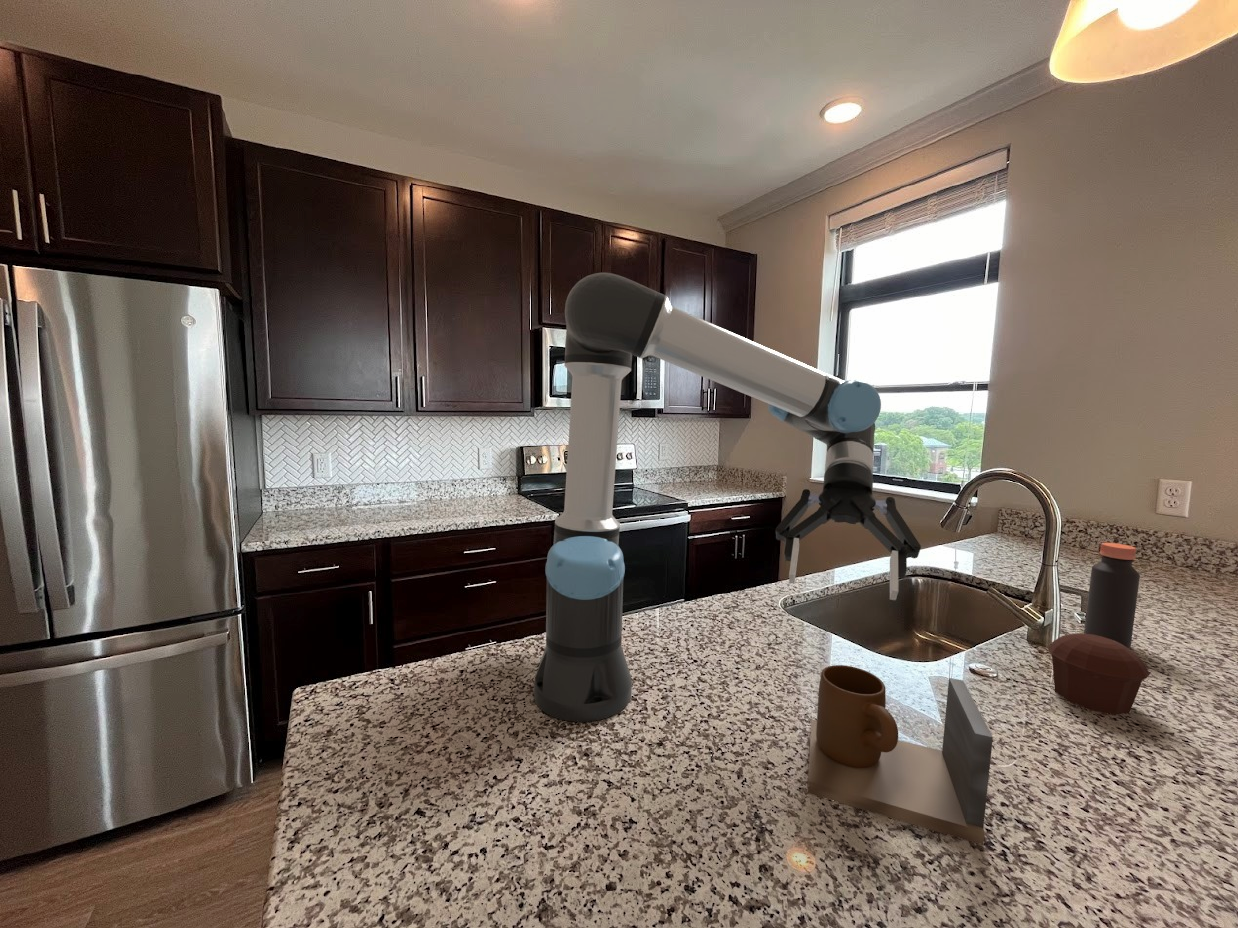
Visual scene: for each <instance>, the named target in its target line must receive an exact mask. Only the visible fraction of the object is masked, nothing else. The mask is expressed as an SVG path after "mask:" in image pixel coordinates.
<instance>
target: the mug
mask: <svg viewBox="0 0 1238 928" xmlns="http://www.w3.org/2000/svg"><path fill="white" fill-rule="evenodd" d="M886 691H887V690H886V684H885V683H884V682H883V681H882V680H881V678H879V677H878V676H876V675H875V674H873V673H871V672H869V671H867V670H864V669H862V668H859V667H855V666H850V665H844V664H843V665H841V664H833V665H829V666H827V667H825V668H824V669H822V670H821V672H820V678H819V686H818V698H817V714H816V720H817V728H816V738H817V743H818V745H819V747H820V748H821V750H822V751H823V752H824V753H825V754H826V755H827V756H829V757H830V758H832V759H833V760H835V761H837V762H839V763H841V764H844V765H847V766H851V767H857V768H865V767H870V766H873V765H875V764H876V763H877V762H878V761H879V759H880V756H881V752H886V753H887V752H890V751H892V750H893V749H894V748H895V747H896V745H897V743H898V740H899V728H898V725H897V721H896V720H895V718H894V717H893V715H892V713H891V712H890V711H889V709H887V708H886V704H887V703H886V694H887V693H886Z"/></svg>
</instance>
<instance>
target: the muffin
mask: <svg viewBox="0 0 1238 928" xmlns="http://www.w3.org/2000/svg"><path fill="white" fill-rule="evenodd" d="M1046 648H1047V650H1048V652H1049V654H1050V655H1051V660H1052V671H1053V673H1052V674H1053V682H1054V683H1053V685H1054V693H1056V694H1058V695H1059V696H1061V698H1064V699H1065V700H1066V702H1068V703H1072V704H1074V705H1077V706H1078V707H1079V706H1080V707H1081V708H1084V709H1086V710H1088V711H1091V712H1097V713H1103V714H1105V715H1112V716H1114V717H1115V716H1120V715H1129V714H1130V712H1131V711H1132V708H1133V706H1134V703H1135V699H1137V695H1138V693H1139V690H1140V687H1141V685H1142V682H1143V681H1144V680H1146V679H1148V677H1149V676H1150V675H1151V672H1150V671H1149V669H1148V667H1147V665H1146V663H1145V662H1144V661H1143V660H1142V658H1140V657H1139V656H1138V655H1137V654H1136V653H1135V652H1134V651H1133V650H1131V648H1127V647H1125V646H1124V645H1122V644H1120V643H1118V642H1116V641H1114V640H1111V639H1108V638H1105V637H1102V636H1097V635H1092V634H1085V633H1084V632H1081V633H1078V632H1076V633H1068V634H1065V635H1064V634H1063V635H1061V636H1060V637H1058V638H1056V639H1054V640H1053V641H1052V642H1051V643H1050V644H1049V645H1048V646H1047V647H1046Z"/></svg>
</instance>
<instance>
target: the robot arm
mask: <svg viewBox="0 0 1238 928" xmlns="http://www.w3.org/2000/svg"><path fill="white" fill-rule="evenodd" d="M564 305H565V306H564V307H565V308H564V317H565V323H566V330H565V331H566V334H565V349H564V350H565V351H564V367H565V368H566V370H568V372H569V373H570V374H571V377H572V381H571V393H570V394H571V397H570V398H571V399H570V413H569V414H570V415H569V429H568V445H567V459H566V460H567V462H566V474H565V475H566V477H565V490H564V491H565V493H564V509H563V510H564V511H563V512H562V513H561V514H560V515H559V516H558V517H557V518H555V520H554V531H553V533H554V535H553V545H552V546H551V547H550V549H549V550H548V553H547V558H546V559H547V560H546V562H545V571H544V572H545V576H546V603H545V604H546V605H545V606H546V608H545V609H546V613H545V615H546V616H545V618H546V619H545V620H546V621H545V647H544V650H543V653H542V657H541V659H540V662H539V664H538V668H537V670H536V673H535V677H534V681H533V699H534V702H535V704H536V705H537V707H538V708H539V709H540V710H541V711H543V712H544V713H546V714H547V715H548V716H551V717H553V718H555V719H559V720H563V721H567V722H578V723H580V722H581V723H582V722H583V723H584V722H594V721H600V720H603V719H607V718H610V717H612V716H614V715H616V714H618V713H620V712H621V711H622V710H624V709H625V708H626V707H627V706H628V705H629V703H630V702H631V699H632V693H633V692H632V691H633V690H632V688H633V686H632V685H633V680H632V676H631V673H630V669H629V665H628V662H627V660H626V656H625V653H624V648H623V646H622V641H623V640H622V637H623V605H624V604H623V601H624V599H623V597H624V595H623V593H624V577H625V570H626V566H625V562H624V554H623V551H622V549H621V548H620V546H619V545H620V544H619V543H620V542H619V539H620V529H621V528H620V527H621V526H620V522H619V521H618V520H617V519H616V517H615V516H614V515H613V506H614V495H615V494H614V492H615V481H616V480H615V477H616V467H617V466H616V464H617V449H618V437H619V436H618V435H619V434H618V433H619V424H620V423H619V421H620V408H621V407H620V406H621V395H622V394H621V392H622V380H624V378H625V377H626V376H627V375H628V374H629V373H630V372H632V363H633V362H632V361H633V356H634V357H637V358H639V359H643V358H647V357H648V356H652V357H655V358H657V359H659V360H662V361H664V362H666V363H670V364H671V365H674V366H676V367H679V368H681V369H684V370H686V371H689V372H691V373H693V374H696V375H699V376H701V377H702V378H705V379H708V380H710V381H712V382H715V383H717V384H720V385H722V386H724V387H727V388H730V389H732V390H735V391H736V392H739V393H742V394H744V395H747V396H749V397H752V398H754V399H757V400H759V401H761V402H764V403H766V404H768V412H769V413H770V415H772V416H774V417H775V418H776V419H779V420H780V421H781V422H782V423H786V424H788V425H789V426H791V427H793V428H795V429H797V430H799V431H801V432H803V433H805V434H806V435H808V436H810V437H813V438H814V439H816V440H817V441H819V442H821V443H823V444H825V445H826V455H825V461H824V462H825V464H824V475H823V484H822V492H821V493H820V494H817V493H812V492H811V491H810V490H809V489H807V488H805V489H803V490H802V492H801V496H800V499H799V500H798V501H797V503H795V505H794V506H793V507H792V508H791V509H790V511H789V512H788V513H787V514H786V515H785V516H784V518H783V519H782V520H781V521H780V522H779V523H778V525H777V526H776V528H775V539H776V540H777V541H783V542H785V545H784V554H783V557H784V560H785V561H787V562H790V566H789V573H788V580H789V581H788V582H789V584H794V585H795V584H796V583H795V582H796V576H797V575H796V574H797V565H798V558H799V552H800V551H799V550H800V541H801V540H802V539H804V538H805V537H806V536H808V535H809V534H811V533H812V532H813V531H815V530H817V529H818V528H819V527H820V526H821V525H825V524H827V523H828V522H829V521H830V520H831V521H834V523H846V524H850V525H856V524H860V525H861V526H862V527H863V528H864V529H865V530H868V531H869V532H870V533H871V534H872V535H873V536H874V538H876V539H877V540H878V541H879V542H880V543H881V544H882V545H883V547H884V548H886V550H888V552H889V553H890V557H889V600H892V601H897V598H898V594H899V579H904V578H905V577H906V574H907V572H908V570H907V569H908V567H907V563H908V562H907V559H908V558H912V559H917V558H918V557H919V555H920V551H921V548H922V546H921V543H920V542H919V541H918V539H917V538H916V536H915V535H914V533H913V531H912V530H911V529H910V527H909V526H908V524H907V522H906V521H905V520H904V518H903V516H902V515H901V513H900V512H899V510H898V509H897V506H896V500H895V498H894V497H893V496H888V497H886V498H885V500H884V499H883V500H881V499H880V500H879V499H878V500H877V499H875V498H874V496H873V489H874V488H873V486H874V477H873V474H874V451H875V450H874V449H875V431H876V421H877V420H878V418H879V416H880V414H881V409H882V401H881V400H882V399H881V398H880V397H881V396H880V394H879V392H878V390H877V389H876V388H875V387H874V385H872V384H871V383H868V382H865V381H862V380H857V379H854V380H853V379H852V380H851V379H849V380H843V379H841V378H839V377H836V376H834V375H831V374H829V373H827V372H824V371H821V370H820V369H817V368H814V367H813V366H810V365H807V364H806V363H803V362H802V361H799V360H796V359H794V358H792V357H789V356H787V355H785V354H783V353H780V352H779V351H776V350H773V349H771V348H769V347H766V346H764V345H762V344H759V343H757V342H755V341H752V340H751V339H748V338H747V337H746V338H745V337H744V336H741V335H739V334H736V333H734V332H732V331H729V330H728V329H725V328H723V327H720V326H718V325H716V324H714V323H712V322H709V321H707V320H706V319H702V318H699V317H698V316H695V315H692V314H690V313H688V312H686V311H683V310H682V309H679V308H678V307H675V306H672V304H671V302H670V300H669V297H668V295H665V294H663V293H662V292H661V293H660V292H658V291H656V290H654V289H651V288H649V287H647V286H645V285H642V284H640V283H638V282H636V281H634V280H631V279H630V278H627V277H624V276H622V275H619V274H615V273H612V272H597V273H592V274H590V275H586V276H585V277H583V278H582V279H579V281H577V282H576V283H575V285H574V286H573V287H572V288H571V290H569V293H568V295H567V298H566V300H565V304H564ZM817 503H818V505H819V507H818V509H817V510H816V511H815V512H814V513H812V514H810V515H809V516H808V517H806V518H804V520H802V521H801V522H800V523H798V522H799V521H800V520H801V519H802V517H803V516H804V515H805V514H806V512H807V511H808V508H812V507H813V506H814V505H815V504H817ZM875 509H876V510H878V511H879V513H880V514H881V515H882V516H884V517H885V518H886V521H887V522H888V524H889V527H891V529H892V531H893V532H892V531H891V530H890V529H889V528H888V527H887V526H886V525H885V524H883V522H882V521H881V520H880V519H879V518H877V516H876V513H875V512H874V510H875ZM797 523H798V524H797ZM894 534H895V535H894Z"/></svg>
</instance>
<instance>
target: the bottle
mask: <svg viewBox="0 0 1238 928" xmlns="http://www.w3.org/2000/svg"><path fill="white" fill-rule="evenodd" d="M1136 553H1137V548H1136V547H1135V546H1131V545H1127V544H1123V543H1114V542H1101V543H1100V552H1099V554H1100V555H1099V556H1100V557H1101V560H1100V561H1099V562H1097V563H1095V564H1093V565H1092V567H1091V571H1090V572H1091V573H1090V580H1089V588H1088V597H1087V603H1086V604H1087V605H1086V611H1085V613H1086V614H1085V622H1084V628H1083V629H1084V630H1083V633H1085V634H1092V635H1097V636H1102V637H1105V638H1108V639H1111V640H1114V641H1116V642H1118V643H1120V644H1122V645H1124V646H1125V647H1127V648H1129V649H1131V647H1132V641H1133V640H1132V639H1133V632H1134V623H1135V616H1136V608H1137V601H1138V593H1139V585H1140V578H1141V576H1140V573H1139V571H1137V570H1136V568H1135V567H1133V566H1132V565H1133V563H1134V562H1135V560H1136V556H1137V555H1136Z"/></svg>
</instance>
